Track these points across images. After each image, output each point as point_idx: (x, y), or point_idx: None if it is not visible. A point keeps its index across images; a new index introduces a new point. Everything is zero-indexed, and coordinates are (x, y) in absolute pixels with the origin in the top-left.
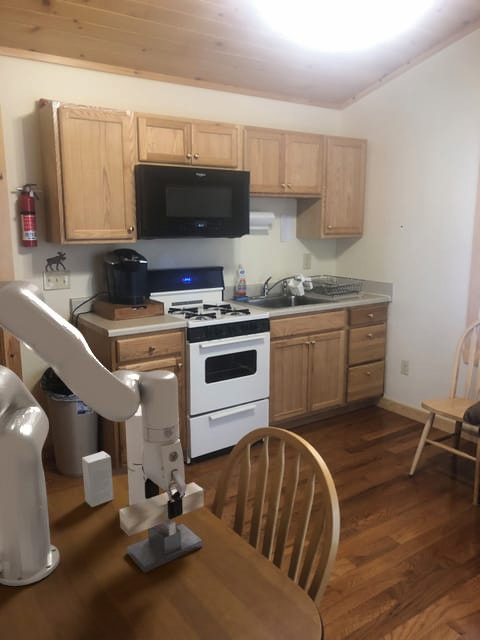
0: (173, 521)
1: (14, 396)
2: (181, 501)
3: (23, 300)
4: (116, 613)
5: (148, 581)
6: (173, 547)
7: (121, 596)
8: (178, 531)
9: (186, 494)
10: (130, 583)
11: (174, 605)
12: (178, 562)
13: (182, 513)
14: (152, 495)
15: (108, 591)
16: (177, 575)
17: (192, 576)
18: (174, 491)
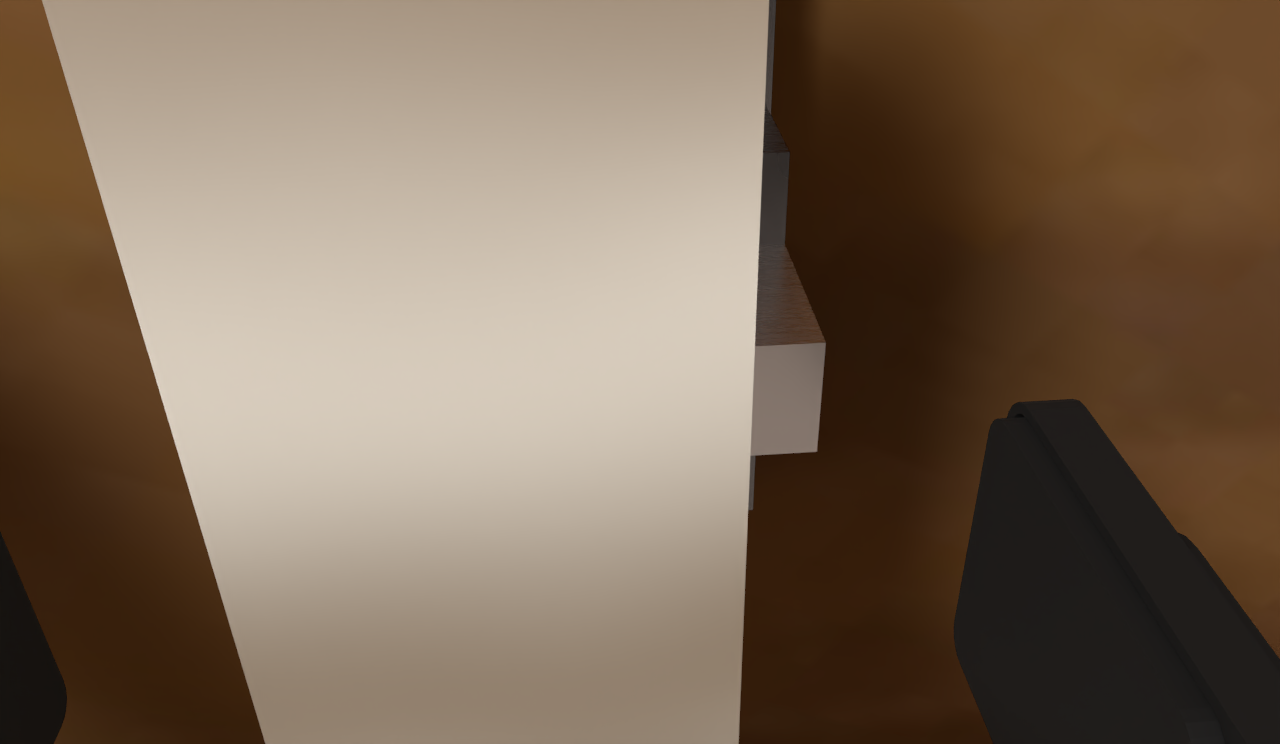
0: (778, 355)
1: None
2: (1231, 643)
3: None
4: (987, 735)
5: (864, 477)
6: None
7: (864, 673)
8: (779, 190)
9: (678, 107)
10: (779, 588)
11: (1273, 428)
12: (832, 133)
13: (1076, 401)
14: (11, 644)
15: (747, 720)
16: (998, 241)
17: (1134, 123)
18: (273, 334)
